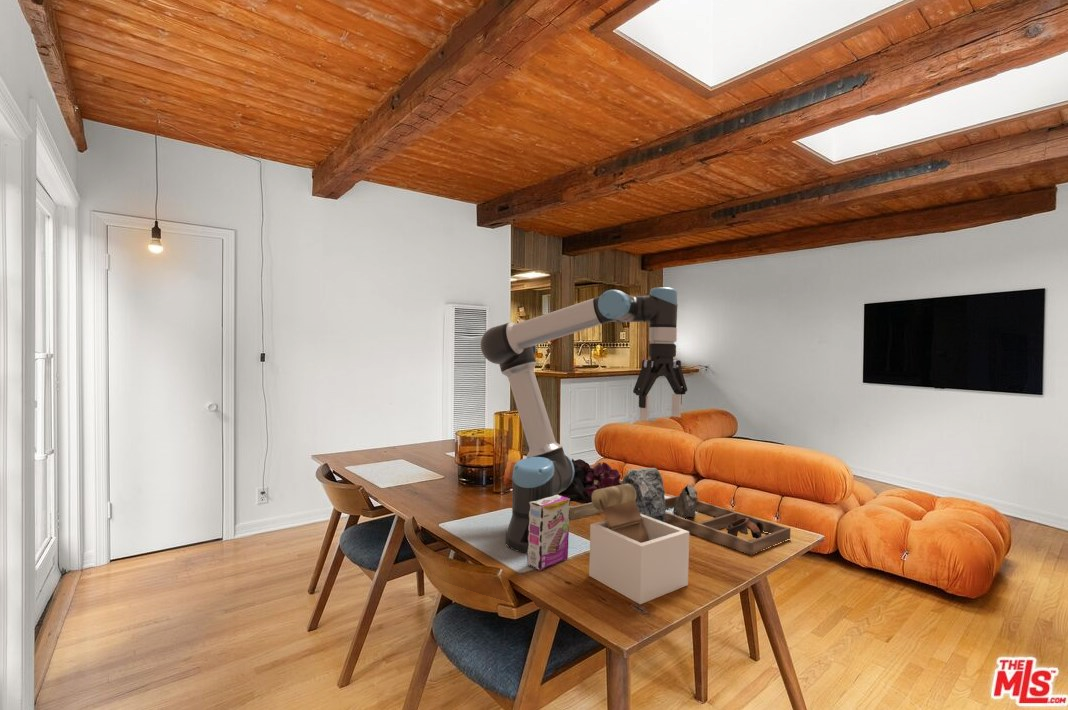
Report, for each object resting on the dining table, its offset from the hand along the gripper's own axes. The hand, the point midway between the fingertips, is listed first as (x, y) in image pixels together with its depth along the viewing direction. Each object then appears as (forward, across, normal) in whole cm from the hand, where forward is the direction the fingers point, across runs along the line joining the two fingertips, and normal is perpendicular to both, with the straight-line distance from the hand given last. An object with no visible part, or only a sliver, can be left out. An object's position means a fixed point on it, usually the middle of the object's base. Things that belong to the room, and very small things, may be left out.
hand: (660, 418), depth 142 cm
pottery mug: (+37, -26, +12) cm, 47 cm away
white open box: (+37, +20, +11) cm, 43 cm away
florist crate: (+37, -14, -45) cm, 60 cm away
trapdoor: (+26, +20, +4) cm, 33 cm away
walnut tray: (+37, -28, -2) cm, 46 cm away
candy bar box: (+37, +32, -9) cm, 50 cm away
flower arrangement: (+37, -14, -45) cm, 60 cm away
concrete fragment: (+37, -30, -14) cm, 49 cm away
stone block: (+37, -5, -9) cm, 38 cm away
